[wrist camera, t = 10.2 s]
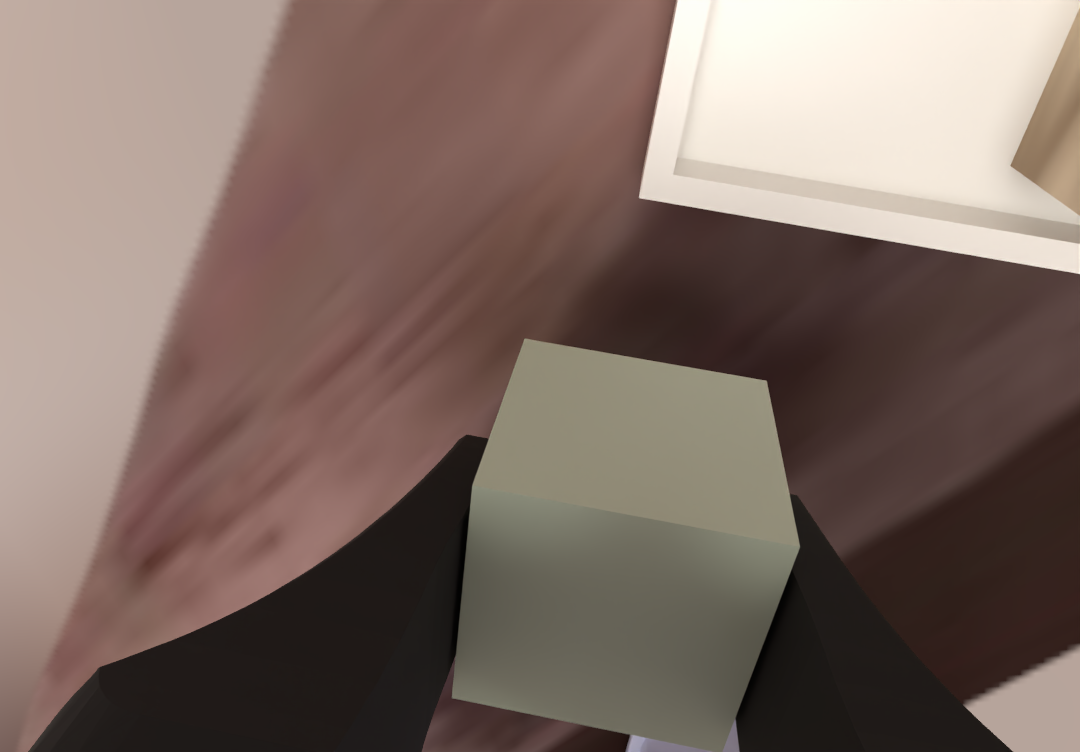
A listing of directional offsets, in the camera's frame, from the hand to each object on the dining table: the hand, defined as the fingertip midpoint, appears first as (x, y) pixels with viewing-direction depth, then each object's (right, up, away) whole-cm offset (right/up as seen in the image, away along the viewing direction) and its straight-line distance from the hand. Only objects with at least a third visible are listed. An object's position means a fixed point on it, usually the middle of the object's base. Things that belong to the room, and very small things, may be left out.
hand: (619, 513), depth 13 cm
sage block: (0, +1, +1) cm, 2 cm away
